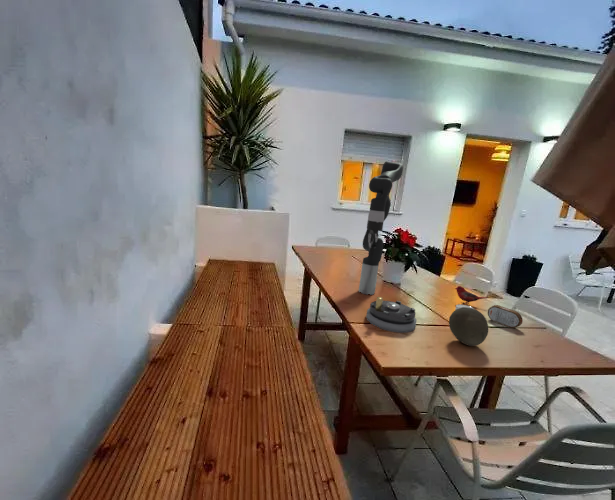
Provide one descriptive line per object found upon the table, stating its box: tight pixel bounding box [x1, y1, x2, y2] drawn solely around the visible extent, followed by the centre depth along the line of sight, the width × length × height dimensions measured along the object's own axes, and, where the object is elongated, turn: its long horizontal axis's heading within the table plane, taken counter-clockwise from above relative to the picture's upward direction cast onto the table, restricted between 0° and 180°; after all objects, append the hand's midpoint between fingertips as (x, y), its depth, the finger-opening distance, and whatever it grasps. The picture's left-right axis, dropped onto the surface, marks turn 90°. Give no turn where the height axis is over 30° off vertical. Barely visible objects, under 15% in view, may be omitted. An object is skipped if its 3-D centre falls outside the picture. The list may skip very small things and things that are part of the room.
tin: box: [487, 304, 524, 329], centre depth 152 cm, size 15×3×8 cm, turn 36°
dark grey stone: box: [448, 307, 489, 347], centre depth 125 cm, size 14×14×15 cm
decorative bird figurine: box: [454, 285, 489, 305], centre depth 176 cm, size 3×18×10 cm, turn 71°
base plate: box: [365, 307, 417, 333], centre depth 141 cm, size 22×22×3 cm
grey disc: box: [369, 296, 416, 324], centre depth 140 cm, size 20×20×9 cm
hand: (370, 255), depth 152 cm, fingers closed
